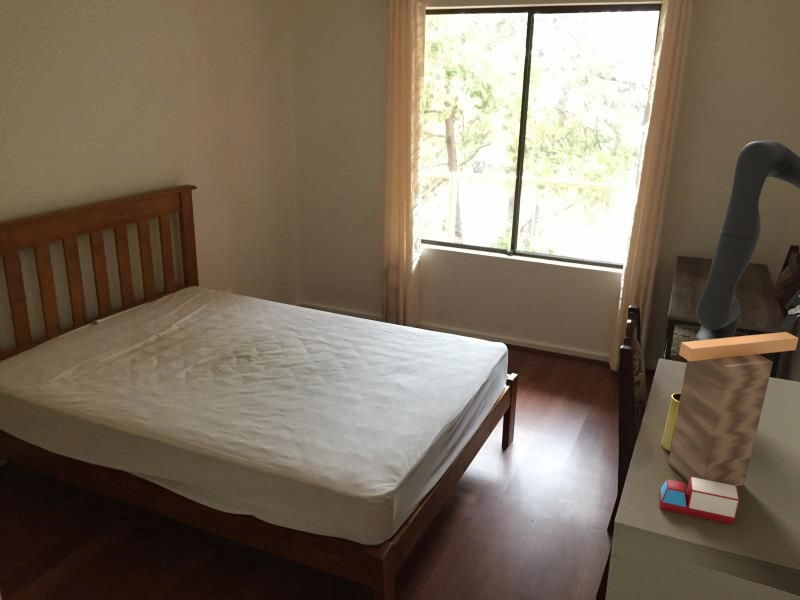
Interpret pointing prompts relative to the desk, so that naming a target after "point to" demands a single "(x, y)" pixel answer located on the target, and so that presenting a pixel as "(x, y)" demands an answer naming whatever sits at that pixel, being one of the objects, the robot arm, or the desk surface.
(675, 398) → the vase
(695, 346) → the light orange bar
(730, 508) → the toy truck
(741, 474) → the pedestal
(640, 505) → the desk surface
